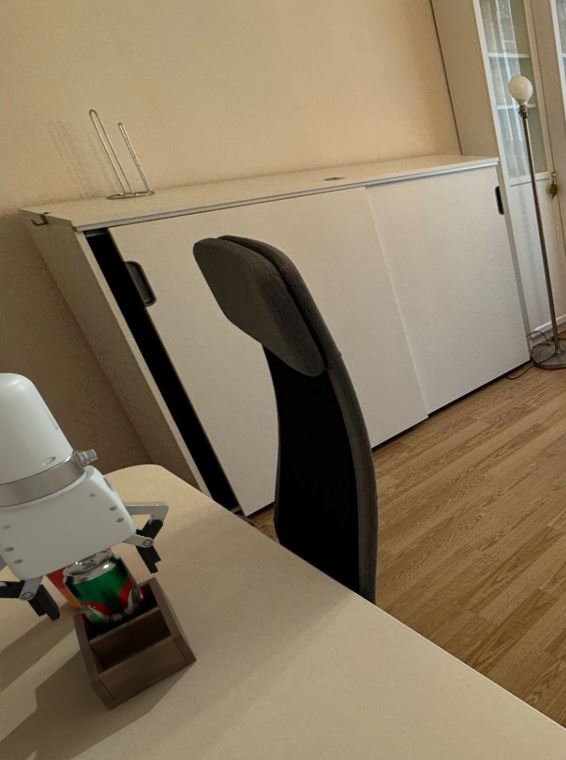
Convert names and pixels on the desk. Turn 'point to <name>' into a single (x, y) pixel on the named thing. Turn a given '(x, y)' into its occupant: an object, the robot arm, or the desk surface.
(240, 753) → the desk surface
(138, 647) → the brown wooden divided box
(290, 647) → the desk surface
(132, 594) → the soda can
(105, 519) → the robot arm
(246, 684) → the desk surface
